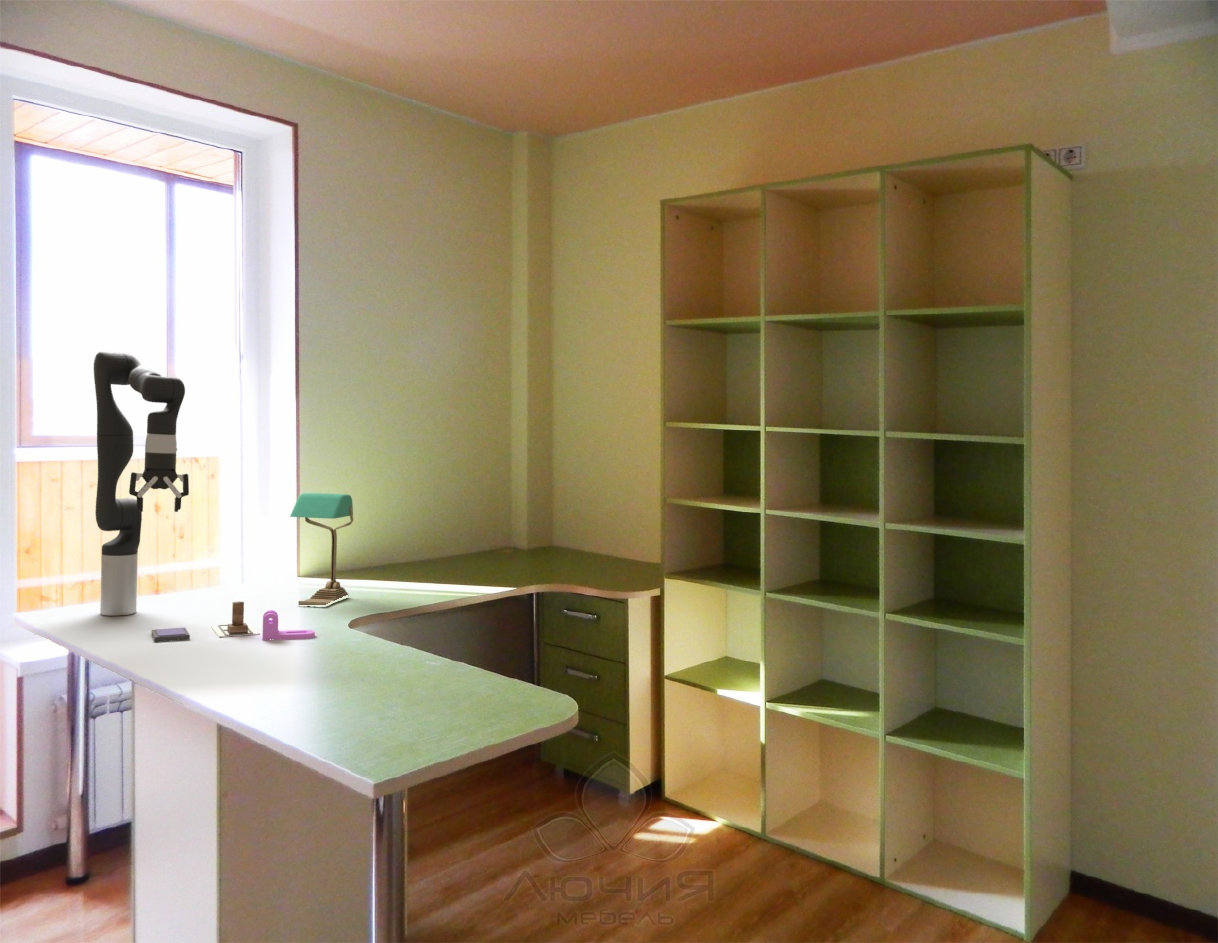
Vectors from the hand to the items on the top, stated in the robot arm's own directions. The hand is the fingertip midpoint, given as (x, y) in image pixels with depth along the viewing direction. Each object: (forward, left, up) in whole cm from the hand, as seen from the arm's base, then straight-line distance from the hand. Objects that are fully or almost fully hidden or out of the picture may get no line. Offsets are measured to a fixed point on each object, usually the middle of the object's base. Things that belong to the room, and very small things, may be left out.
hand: (158, 511), depth 246 cm
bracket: (+24, +30, -32) cm, 49 cm away
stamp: (+14, +18, -31) cm, 39 cm away
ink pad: (+13, +2, -32) cm, 34 cm away
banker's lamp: (-25, +50, -32) cm, 65 cm away
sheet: (+11, +18, -32) cm, 38 cm away
